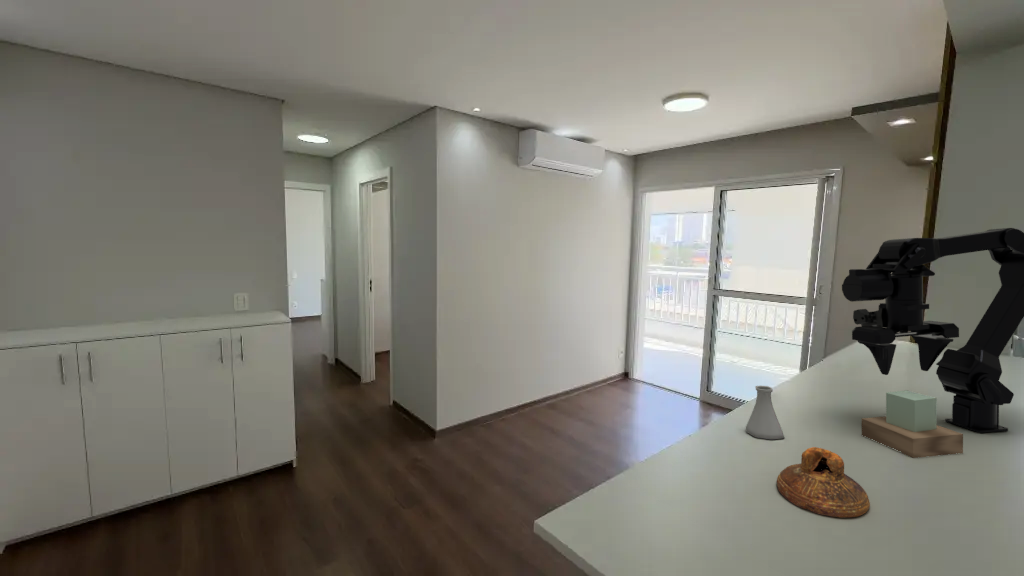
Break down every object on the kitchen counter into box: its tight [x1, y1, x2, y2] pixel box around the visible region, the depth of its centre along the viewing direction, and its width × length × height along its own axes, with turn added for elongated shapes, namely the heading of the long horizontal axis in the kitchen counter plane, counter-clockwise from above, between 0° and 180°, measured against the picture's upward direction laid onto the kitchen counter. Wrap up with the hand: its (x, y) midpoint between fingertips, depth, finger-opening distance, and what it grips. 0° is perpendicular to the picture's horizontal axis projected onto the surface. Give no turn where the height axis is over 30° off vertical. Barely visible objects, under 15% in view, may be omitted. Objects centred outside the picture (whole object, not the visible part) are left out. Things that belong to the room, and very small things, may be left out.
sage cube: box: [885, 389, 938, 432], centre depth 80 cm, size 5×5×6 cm
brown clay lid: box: [776, 446, 871, 519], centre depth 64 cm, size 12×12×7 cm
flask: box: [745, 385, 785, 440], centre depth 87 cm, size 7×7×10 cm
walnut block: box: [861, 415, 964, 459], centre depth 80 cm, size 10×10×4 cm
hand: (904, 372), depth 86 cm, fingers open, 9 cm apart
